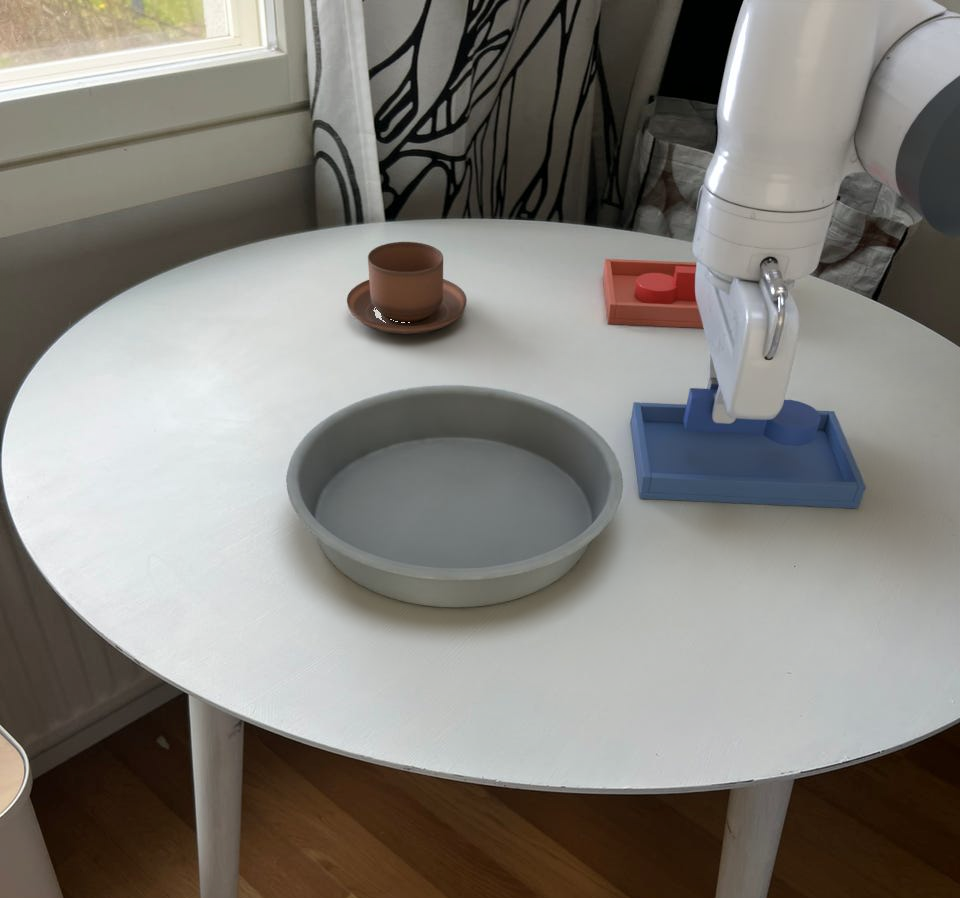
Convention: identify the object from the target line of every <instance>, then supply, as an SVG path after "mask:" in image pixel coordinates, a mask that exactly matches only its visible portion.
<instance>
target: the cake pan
mask: <svg viewBox="0 0 960 898" xmlns="http://www.w3.org/2000/svg"><path fill="white" fill-rule="evenodd" d="M285 477H286V478H285V482H286V491H287V495H288V499H289V501H290V504H291V506H292V508H293V510H294V512H295V513H296V515H297V517H298V518H299V520H300V521H301V522H302V524H303V525H304V526H306V528H307V530H309V531H310V532H311V533H312V534H313V535H314V536H315V538H316V540H317V542H318V544H319V546H320V548H321V550H322V552H323V554H324V555H325V556H326V557H327V559H328V560H329V561H330V562H331V563H332V565H334V566H335V568H337V569H338V570H339V571H340V572H341V573H342V574H344V575H345V576H346V577H348V578H349V579H350V580H352V581H353V582H355V583H356V584H358V585H360V586H362V587H363V588H366V589H367V590H370V591H372V592H373V593H376V594H379V595H382V596H385V597H388V598H390V599H392V600H393V599H394V600H397V601H400V602H403V603H404V602H405V603H409V604H413V605H420V606H427V607H428V606H429V607H435V608H436V607H437V608H472V607H473V608H474V607H475V608H476V607H482V606H483V607H484V606H490V605H496V604H501V603H506V602H510V601H513V600H518V599H520V598H523V597H526V596H528V595H531V594H534V593H536V592H538V591H540V590H542V589H545V587H548V586H550V585H552V584H553V583H555V582H557V581H558V580H559V579H561V578H562V577H563V576H565V575H566V574H567V573H568V572H570V570H572V568H574V567H575V566H576V565H577V563H578V562H579V561H580V560H581V558H582V557H583V556H584V554H585V552H586V551H587V549H588V547H589V545H590V543H591V542H592V541H593V540H595V538H597V536H599V535H600V533H602V532H603V531H604V530H605V528H606V527H607V526H608V525H609V523H610V522H611V521H612V520H613V518H614V515H615V514H616V513H617V510H618V508H619V507H620V506H619V505H620V503H621V500H622V496H623V489H624V488H623V487H624V484H623V483H624V480H623V479H624V478H623V474H622V469H621V466H620V463H619V460H618V458H617V456H616V454H615V452H614V451H613V449H612V448H611V446H610V445H609V443H608V442H607V441H606V439H604V438H603V437H602V436H601V434H600V433H598V432H597V431H596V430H595V429H594V428H592V427H591V426H590V425H589V424H587V423H586V422H585V421H583V420H582V419H580V418H578V417H577V416H575V415H574V414H573V413H570V412H569V411H567V410H565V409H563V408H562V407H559V406H557V405H554V404H553V403H550V402H547V401H544V400H542V399H539V398H535V397H532V396H529V395H526V394H522V393H518V392H514V391H512V390H511V391H510V390H506V389H499V388H493V387H489V386H488V387H487V386H477V385H476V386H475V385H463V384H459V385H458V384H457V385H455V384H454V385H453V384H452V385H451V384H438V385H423V386H416V387H415V386H414V387H407V388H402V389H397V390H392V391H388V392H384V393H380V394H377V395H372V396H370V397H366V398H364V399H361V400H358V401H355V402H353V403H351V404H349V405H347V406H345V407H343V408H341V409H339V410H337V411H335V412H334V413H332V414H330V415H329V416H327V417H325V418H324V419H323V420H321V421H320V422H319V423H318V424H316V425H315V426H314V427H313V428H312V429H311V430H309V432H307V433H306V435H305V436H304V437H303V438H302V440H301V441H300V442H299V443H298V445H297V447H296V448H295V450H294V451H293V453H292V455H291V457H290V460H289V463H288V466H287V470H286V475H285Z"/></svg>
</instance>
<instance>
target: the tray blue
mask: <svg viewBox="0 0 960 898" xmlns="http://www.w3.org/2000/svg"><path fill="white" fill-rule="evenodd" d="M686 405H687V404H686V403H685V404H681V403H680V404H679V403H660V402H639V401H638V402H637V401H634V402H633V403H632V409H631V415H630V432H631V439H632V447H633V455H634V463H635V470H636V479H637V486H638V493H639V495H638V496H639V499H640V500H641V499H642V500H643V499H644V500H667V501H686V502H707V503H708V502H709V503H727V504H729V503H730V504H732V503H733V504H749V505H752V504H753V505H772V506H791V507H792V506H794V507H814V508H835V509H836V508H837V509H856V510H857V509H859V508H860V505H861V501H862V499H863V497H864V495H865V492H866V488H867V486H866V484H865V481H864V478H863V476H862V474H861V471H860V469H859V467H858V463H856V459H855V457H854V454H853V453H852V451H851V448H850V445H849V444H848V440H847V438H846V436H845V434H844V431H843V429H842V426H841V424H840V422H839V420H838V417H837V415H836V412H835V411H834V410H817V409H815V410H816V411H817V412H818V413H819V415H820V423H819V426H818V429H817V432H816V435H815V438H814V439H813V440H812V441H811V442H810V443H808V444H805V445H799V446H790V445H784V444H780V443H777V442H774V441H772V440H770V439H768V438H767V437H765V436H764V435H759V434H739V433H719V432H699V431H686V430H685V426H684V421H683V420H684V415H685V410H686Z"/></svg>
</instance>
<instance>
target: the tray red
mask: <svg viewBox="0 0 960 898" xmlns="http://www.w3.org/2000/svg"><path fill="white" fill-rule="evenodd" d="M696 264H697V262H695V261H693V262H691V261H667V260H646V259H644V260H643V259H640V260H639V259H623V258H622V259H621V258H604V264H603V270H602V271H603V272H602V283H603V291H604V293H603V294H604V299H605V300H604V301H605V302H604V303H605V310H606V319H607V324H608V325H623V326H624V325H627V326H647V327H669V328H693V329H704V327H703V323H702V320H701V316H700V312H699V309H698V305H697V301H679V300H675V301H674V302H673V303H671V304H648V303H643V302H641V301H639V300H638V299H637V298H636V297H635V288H636V281H637V278H638V277H639V276H641V275H643V274H647V273H662V274H666V275H670V276H672V277H674V273H675V267H676V266H688V267H696Z"/></svg>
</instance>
